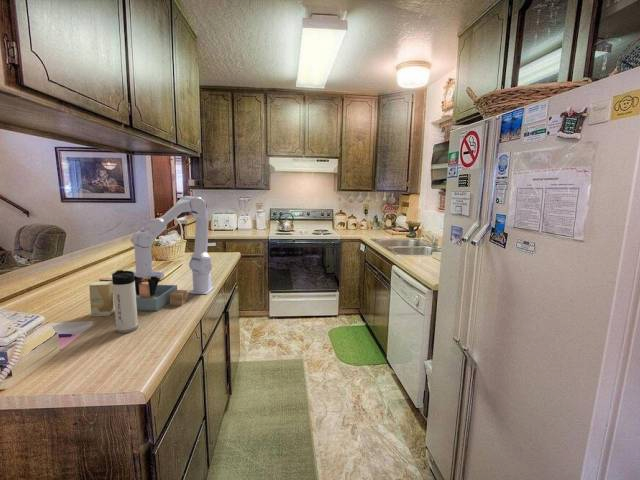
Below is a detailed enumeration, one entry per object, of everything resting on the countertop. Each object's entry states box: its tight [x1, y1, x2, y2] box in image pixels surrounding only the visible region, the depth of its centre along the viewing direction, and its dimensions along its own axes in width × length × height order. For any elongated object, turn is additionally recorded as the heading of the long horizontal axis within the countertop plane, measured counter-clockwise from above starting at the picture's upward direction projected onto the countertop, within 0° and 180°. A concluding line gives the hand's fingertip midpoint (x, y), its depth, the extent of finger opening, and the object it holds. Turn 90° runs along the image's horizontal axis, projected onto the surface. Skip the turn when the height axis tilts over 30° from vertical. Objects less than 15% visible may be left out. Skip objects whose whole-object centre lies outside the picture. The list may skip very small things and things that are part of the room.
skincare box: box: [88, 280, 115, 317], centre depth 114 cm, size 6×4×12 cm
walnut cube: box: [169, 289, 189, 307], centre depth 127 cm, size 5×5×5 cm
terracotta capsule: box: [138, 281, 154, 299], centre depth 123 cm, size 5×5×7 cm
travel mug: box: [111, 269, 139, 334], centre depth 102 cm, size 6×7×20 cm
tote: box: [136, 283, 178, 312], centre depth 127 cm, size 17×13×5 cm
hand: (145, 294), depth 122 cm, fingers closed on terracotta capsule, 5 cm apart
